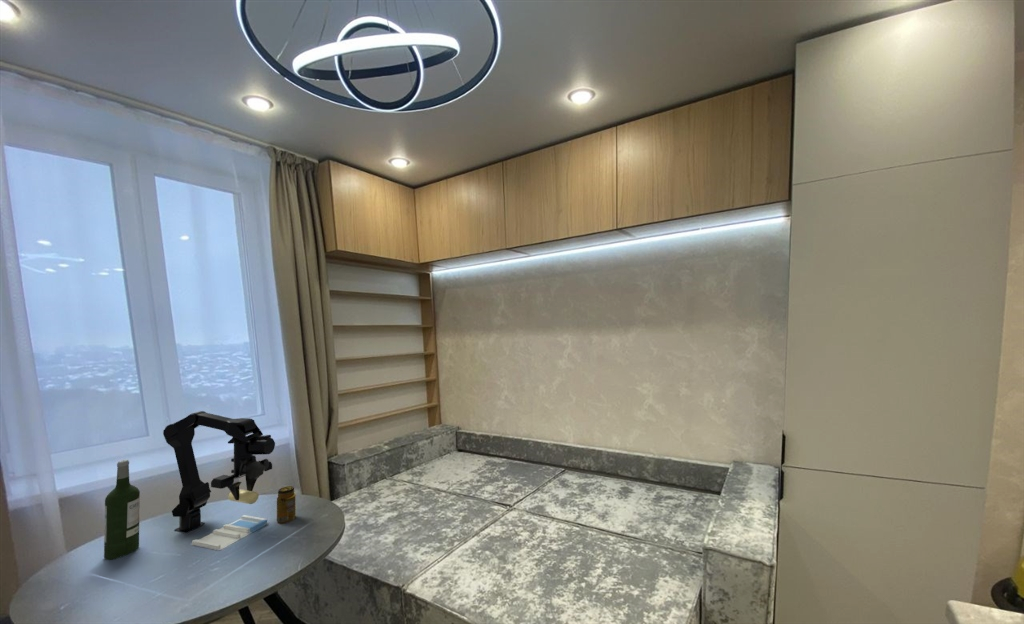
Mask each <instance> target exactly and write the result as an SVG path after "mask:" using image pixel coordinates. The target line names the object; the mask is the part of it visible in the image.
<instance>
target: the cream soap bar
mask: <svg viewBox="0 0 1024 624" xmlns="http://www.w3.org/2000/svg"><path fill="white" fill-rule="evenodd" d="M258 499H259V493H258V492H257V491H253V490H252V491H247V489H241V488H239V500H236V499H235V498H234V496H233V494H232V493H231V491H230V492H229V494H228V500H229V501H231V502H238V503H243V504H248V505H253V504H255V503H256V502H258Z"/></svg>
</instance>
